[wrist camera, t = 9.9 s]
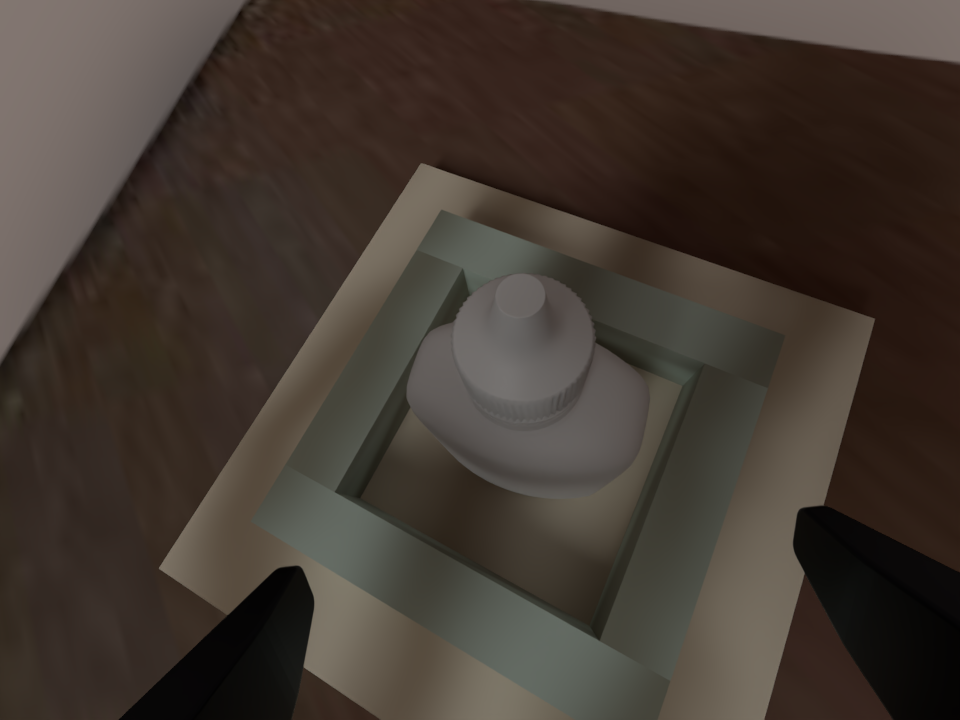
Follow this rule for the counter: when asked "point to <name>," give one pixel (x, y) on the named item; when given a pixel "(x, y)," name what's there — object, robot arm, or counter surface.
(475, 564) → the bottle socket
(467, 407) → the eye dropper bottle
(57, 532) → the counter surface
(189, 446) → the counter surface
